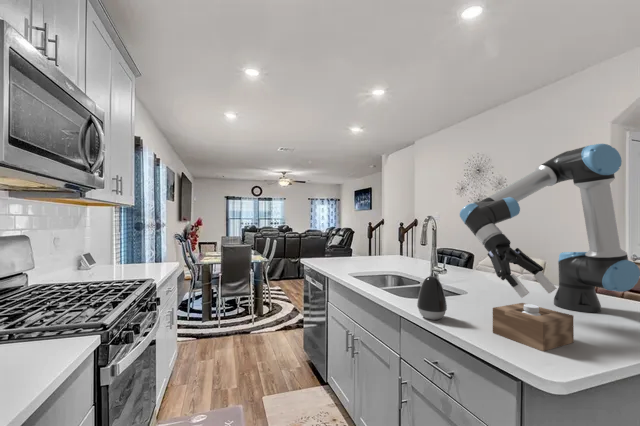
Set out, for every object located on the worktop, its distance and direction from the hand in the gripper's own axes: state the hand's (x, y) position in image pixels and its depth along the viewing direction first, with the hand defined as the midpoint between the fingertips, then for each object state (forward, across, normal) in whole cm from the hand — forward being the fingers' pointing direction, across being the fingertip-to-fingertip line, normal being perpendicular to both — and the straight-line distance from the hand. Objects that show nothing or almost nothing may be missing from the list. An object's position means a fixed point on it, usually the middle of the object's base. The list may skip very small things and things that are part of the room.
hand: (539, 293), depth 94 cm
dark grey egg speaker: (-11, +14, -31) cm, 36 cm away
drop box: (+8, 0, -12) cm, 14 cm away
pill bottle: (+8, 0, -12) cm, 15 cm away
